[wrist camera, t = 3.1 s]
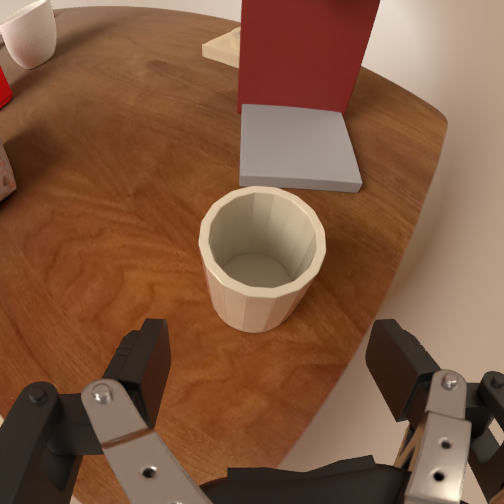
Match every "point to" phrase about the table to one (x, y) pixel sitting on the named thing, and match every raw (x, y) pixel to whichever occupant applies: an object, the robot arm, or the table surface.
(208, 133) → the table surface
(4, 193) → the food item
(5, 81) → the french fries container
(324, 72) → the coffee maker
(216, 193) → the table surface
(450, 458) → the robot arm
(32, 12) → the mug
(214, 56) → the brew pad
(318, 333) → the table surface
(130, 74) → the table surface
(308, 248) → the cream cup
